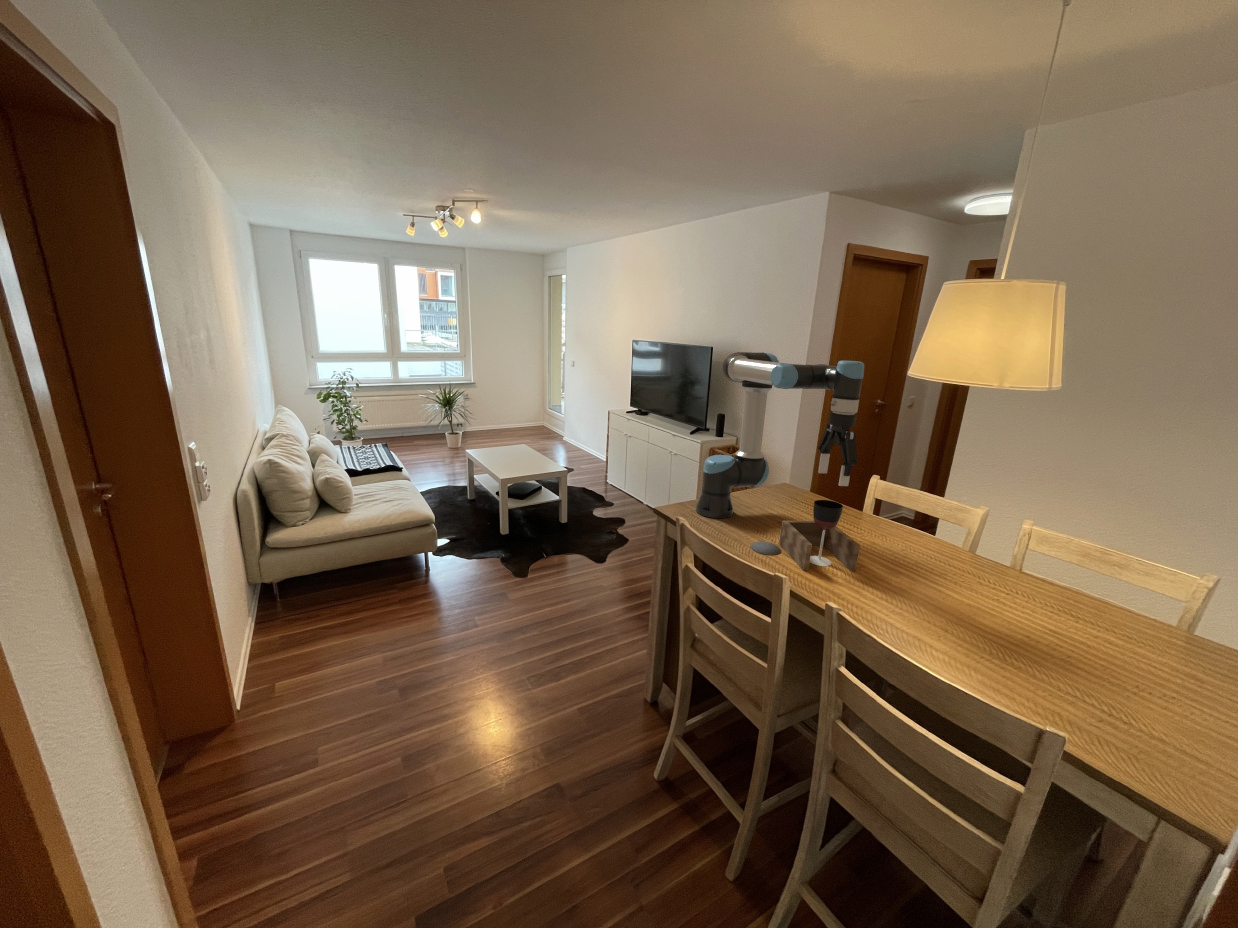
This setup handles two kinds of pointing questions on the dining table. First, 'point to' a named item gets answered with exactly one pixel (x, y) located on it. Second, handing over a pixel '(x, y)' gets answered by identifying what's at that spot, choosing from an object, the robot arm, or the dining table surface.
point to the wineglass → (825, 524)
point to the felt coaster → (765, 548)
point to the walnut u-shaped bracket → (817, 543)
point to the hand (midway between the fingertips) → (832, 479)
